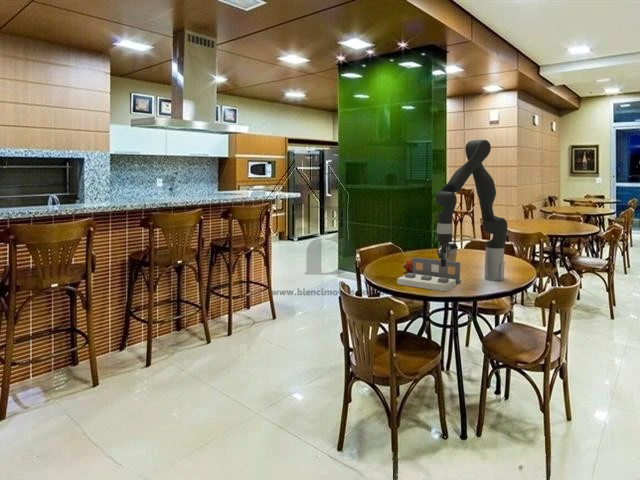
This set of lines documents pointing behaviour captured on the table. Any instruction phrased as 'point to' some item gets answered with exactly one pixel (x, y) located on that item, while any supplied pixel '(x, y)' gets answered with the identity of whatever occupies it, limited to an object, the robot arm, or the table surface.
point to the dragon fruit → (409, 266)
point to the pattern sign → (436, 268)
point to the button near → (443, 280)
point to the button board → (426, 283)
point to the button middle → (426, 277)
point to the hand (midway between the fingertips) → (443, 266)
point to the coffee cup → (452, 252)
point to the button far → (410, 275)
